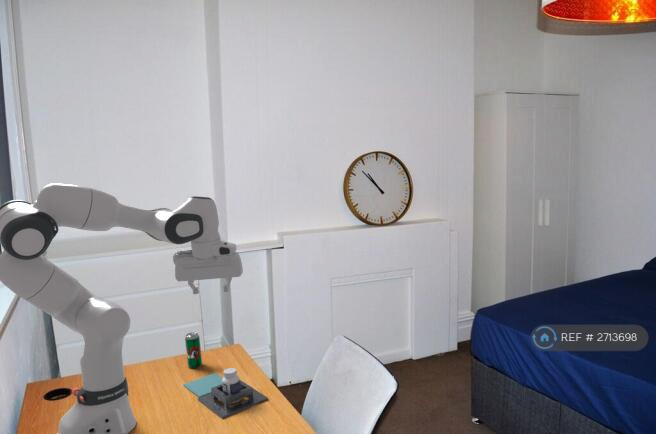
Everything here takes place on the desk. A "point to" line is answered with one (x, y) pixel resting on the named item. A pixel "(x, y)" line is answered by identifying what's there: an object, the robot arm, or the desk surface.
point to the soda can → (193, 350)
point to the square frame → (231, 400)
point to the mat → (204, 384)
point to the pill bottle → (231, 382)
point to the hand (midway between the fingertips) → (211, 292)
